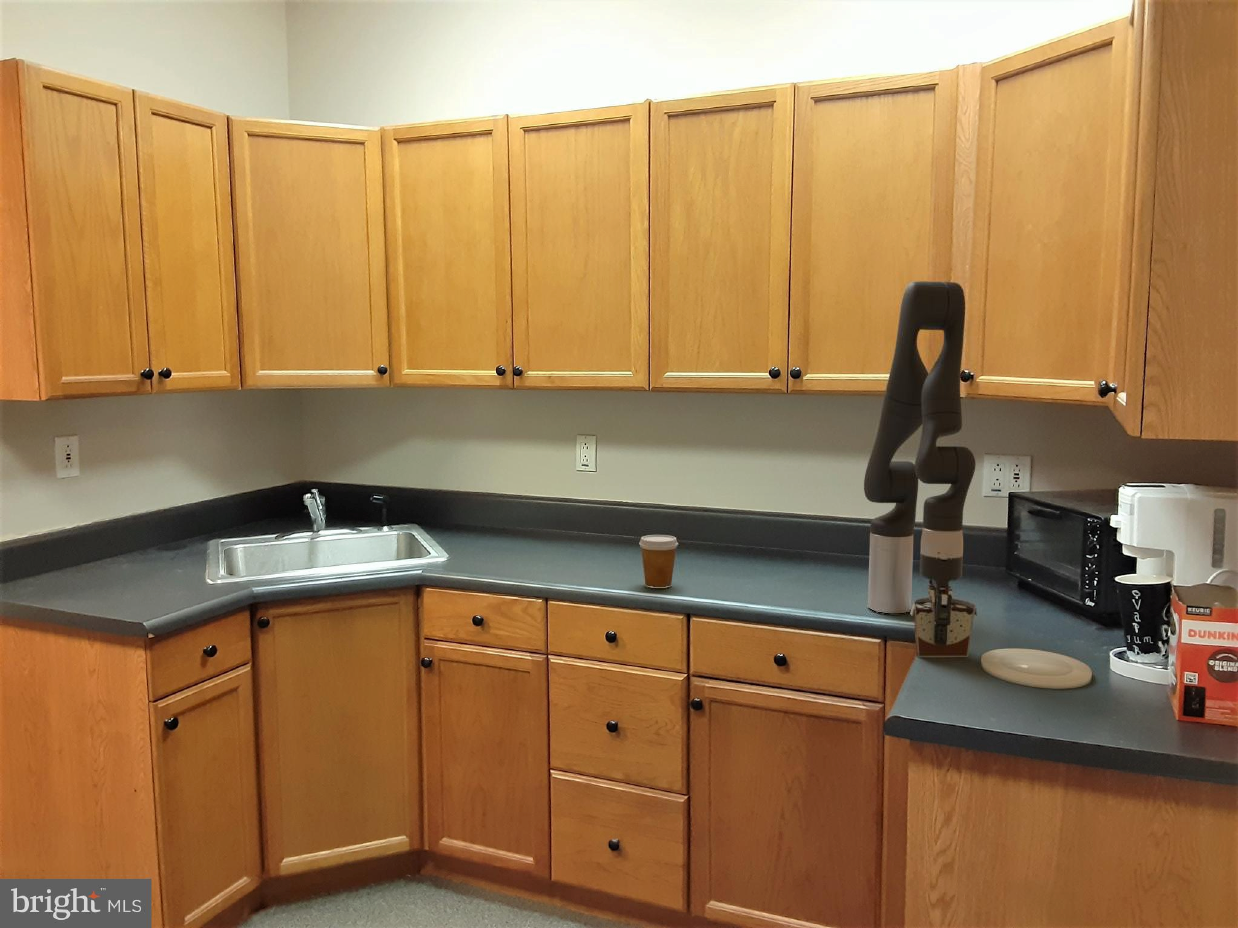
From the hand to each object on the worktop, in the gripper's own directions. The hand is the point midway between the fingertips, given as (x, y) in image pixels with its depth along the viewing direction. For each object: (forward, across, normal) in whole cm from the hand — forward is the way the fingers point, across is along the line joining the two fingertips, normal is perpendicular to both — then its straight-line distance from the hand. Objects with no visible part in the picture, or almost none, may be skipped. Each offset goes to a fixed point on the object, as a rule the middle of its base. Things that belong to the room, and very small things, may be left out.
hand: (938, 639), depth 173 cm
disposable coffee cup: (+2, -39, -61) cm, 72 cm away
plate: (+3, +7, +16) cm, 17 cm away
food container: (+3, -1, 0) cm, 3 cm away
